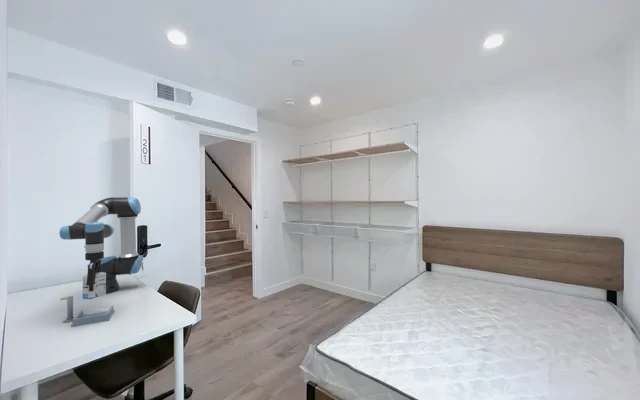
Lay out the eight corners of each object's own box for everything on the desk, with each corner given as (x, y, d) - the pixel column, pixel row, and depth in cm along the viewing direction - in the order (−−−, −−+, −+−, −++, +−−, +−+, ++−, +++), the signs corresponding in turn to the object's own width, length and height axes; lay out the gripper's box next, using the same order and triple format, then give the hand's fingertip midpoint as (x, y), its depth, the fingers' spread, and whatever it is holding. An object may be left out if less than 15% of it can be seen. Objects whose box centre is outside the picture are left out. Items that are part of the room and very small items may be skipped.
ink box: (89, 299, 135) (89, 276, 135) (82, 298, 136) (82, 275, 136) (106, 293, 143) (106, 272, 143) (99, 293, 144) (99, 271, 144)
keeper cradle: (63, 319, 138) (63, 295, 139) (114, 311, 148) (114, 289, 149) (52, 330, 127) (52, 304, 127) (109, 320, 137) (109, 296, 137)
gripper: (91, 249, 148) (91, 289, 148) (78, 256, 128) (78, 302, 128) (108, 248, 151) (108, 287, 151) (97, 254, 132) (97, 299, 132)
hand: (94, 294), depth 140 cm, fingers closed on ink box, 9 cm apart
